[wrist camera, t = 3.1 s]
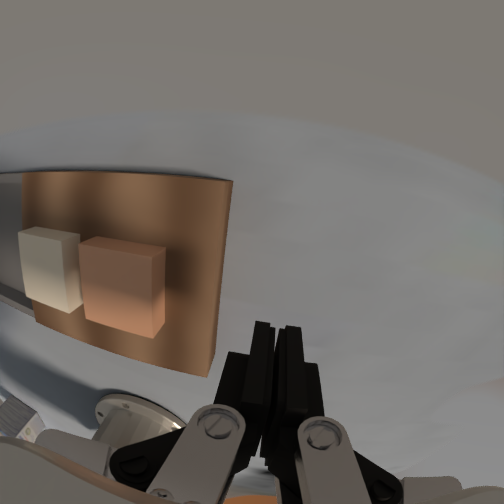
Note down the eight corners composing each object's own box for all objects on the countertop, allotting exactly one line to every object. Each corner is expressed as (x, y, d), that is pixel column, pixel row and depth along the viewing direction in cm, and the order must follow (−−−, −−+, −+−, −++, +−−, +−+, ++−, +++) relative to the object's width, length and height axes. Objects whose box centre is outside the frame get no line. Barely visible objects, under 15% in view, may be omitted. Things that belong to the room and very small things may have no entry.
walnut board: (233, 180, 17) (224, 181, 14) (215, 353, 20) (206, 377, 18) (46, 170, 18) (22, 172, 15) (54, 308, 21) (36, 321, 18)
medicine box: (19, 409, 30) (-3, 434, 22) (11, 393, 29) (-14, 419, 20) (46, 426, 30) (24, 456, 21) (37, 411, 28) (12, 441, 20)
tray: (45, 171, 18) (25, 173, 15) (53, 308, 21) (38, 319, 19) (-13, 174, 18) (-29, 176, 16) (-5, 282, 22) (-18, 289, 19)
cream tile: (79, 234, 16) (61, 241, 14) (85, 301, 17) (69, 313, 15) (35, 226, 16) (17, 232, 14) (41, 287, 17) (26, 296, 15)
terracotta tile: (166, 247, 15) (151, 257, 13) (164, 322, 17) (153, 338, 15) (96, 236, 15) (78, 243, 14) (101, 305, 17) (85, 318, 15)
